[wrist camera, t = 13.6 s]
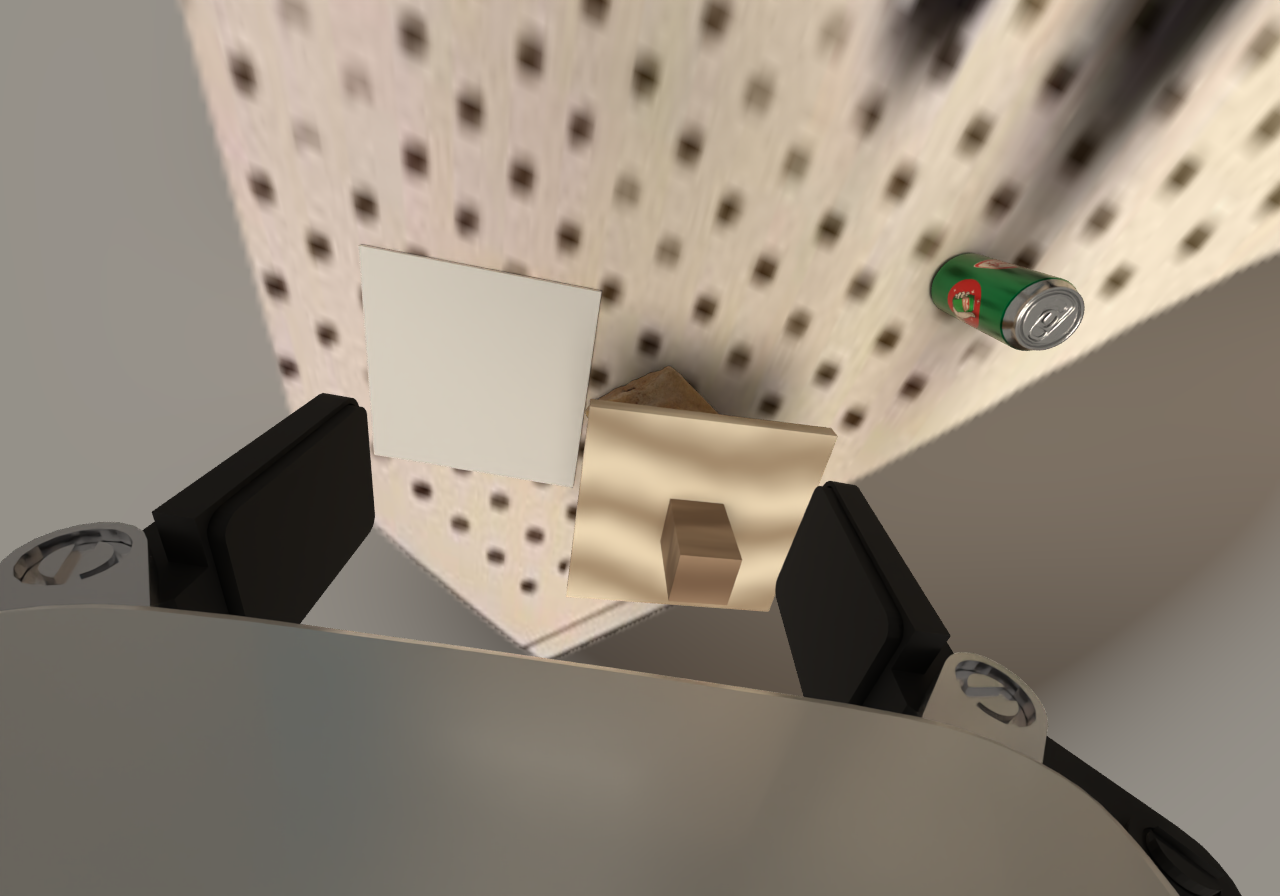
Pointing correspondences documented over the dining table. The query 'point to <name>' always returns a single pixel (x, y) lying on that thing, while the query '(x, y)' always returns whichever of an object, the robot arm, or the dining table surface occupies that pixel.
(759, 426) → the birch lid
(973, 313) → the soda can
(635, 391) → the brown boot-shaped piece
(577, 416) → the grey mat
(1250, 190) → the dining table surface
